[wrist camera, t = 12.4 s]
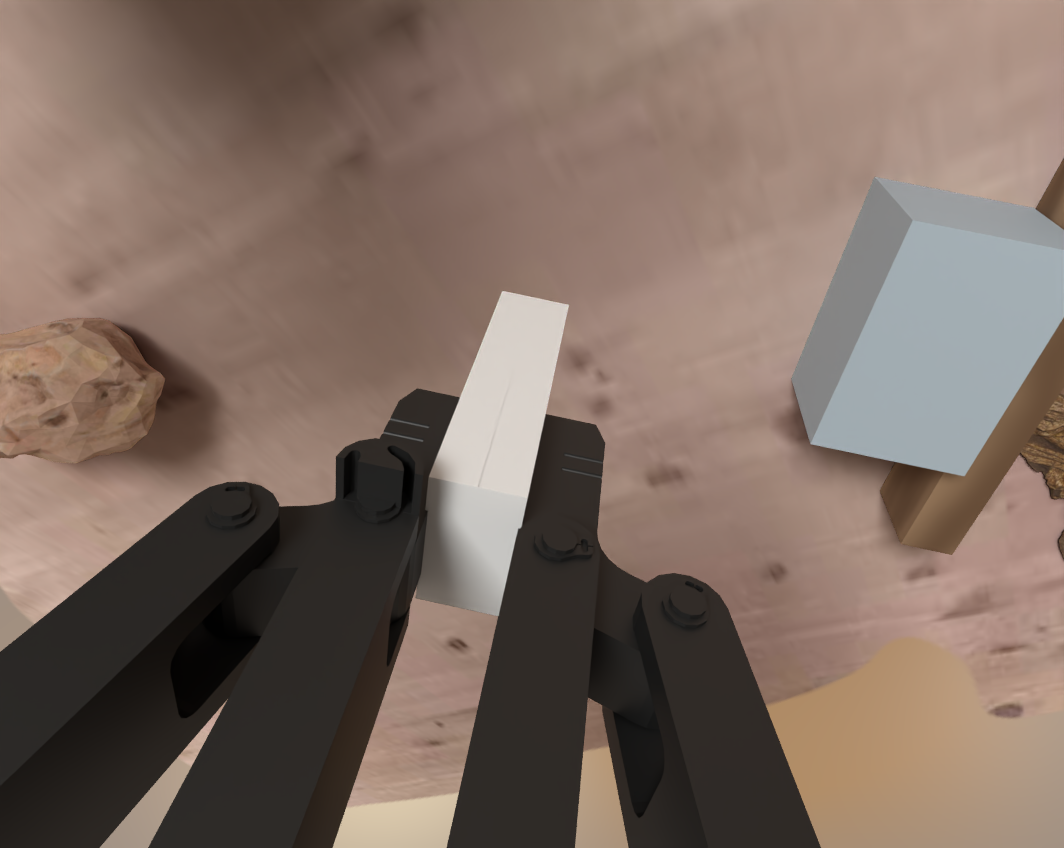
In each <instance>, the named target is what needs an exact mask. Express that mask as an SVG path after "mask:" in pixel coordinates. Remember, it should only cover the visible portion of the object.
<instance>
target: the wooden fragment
mask: <svg viewBox="0 0 1064 848" xmlns="http://www.w3.org/2000/svg"><path fill="white" fill-rule="evenodd" d="M1020 453H1021V455H1022V456H1024V457H1025V458H1026V459H1027V462H1028V464H1029V465H1030V466H1031V467H1032V469H1034V470H1036V471H1037V472H1042V473H1043V474H1044V478H1045V479H1047V481H1046V484H1047V485H1048V486H1049V488H1050V494H1051V498H1052V499H1059V498H1064V388H1063V390H1062V391H1061V393H1060V394H1059V396H1058V397H1057V399H1056V400H1055V402H1054V403H1053V405H1052V406H1051V408H1050V409H1049V411H1048V412H1047V414H1046V415H1045V416H1044V418H1043V419H1042V421H1041V422H1040V424H1039V425H1038V427H1037V428H1036V430H1035V431H1034V433H1033V434H1032V436H1031V437H1030V439H1029V440H1028V442H1027V443H1026V445H1025V446H1024V448H1023V449H1022V451H1021V452H1020ZM1059 545H1060V550H1061V552H1062V554H1063V558H1064V531H1063V532H1062V536H1061V537H1060V539H1059Z"/></svg>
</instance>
